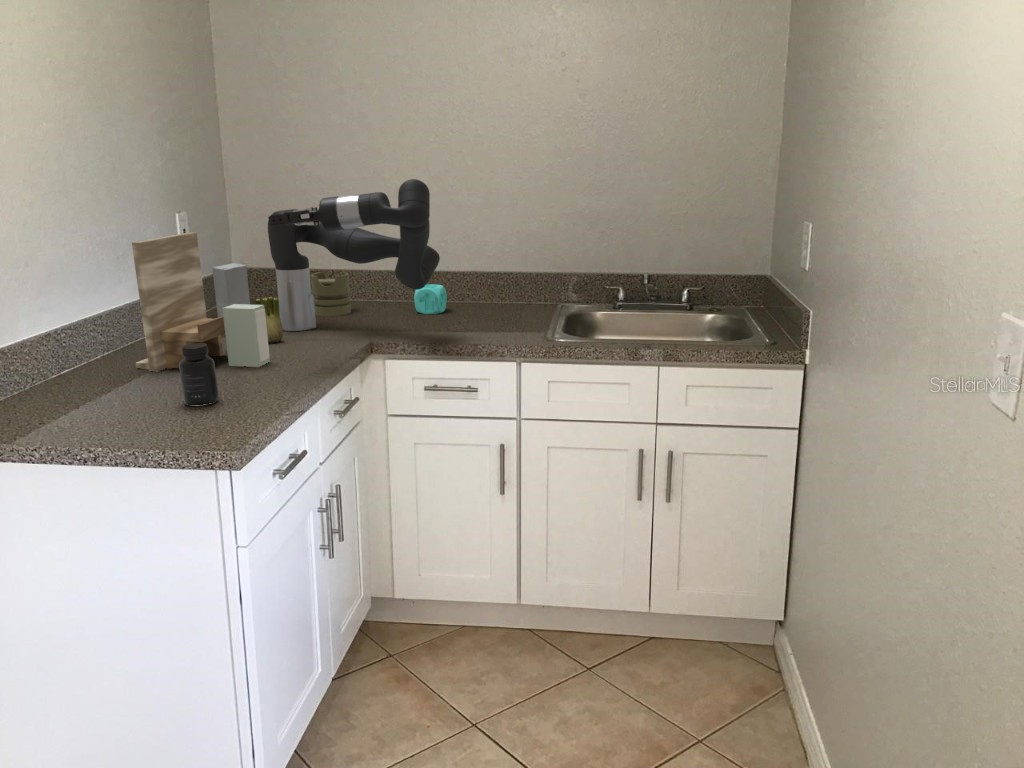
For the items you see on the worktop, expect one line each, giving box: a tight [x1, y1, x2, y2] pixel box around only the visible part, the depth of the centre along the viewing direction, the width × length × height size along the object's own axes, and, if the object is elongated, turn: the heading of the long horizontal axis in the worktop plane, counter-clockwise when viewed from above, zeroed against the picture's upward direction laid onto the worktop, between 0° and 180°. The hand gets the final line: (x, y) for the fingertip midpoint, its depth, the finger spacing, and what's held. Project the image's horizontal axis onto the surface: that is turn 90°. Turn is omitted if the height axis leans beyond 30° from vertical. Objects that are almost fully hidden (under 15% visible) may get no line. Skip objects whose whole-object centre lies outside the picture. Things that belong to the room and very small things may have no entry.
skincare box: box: [211, 262, 251, 318], centre depth 259 cm, size 8×7×16 cm
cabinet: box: [223, 304, 271, 368], centre depth 202 cm, size 8×5×14 cm, turn 76°
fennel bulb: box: [255, 296, 284, 344], centre depth 225 cm, size 6×5×12 cm
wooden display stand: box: [131, 231, 225, 373], centre depth 203 cm, size 18×22×30 cm
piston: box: [310, 271, 352, 317], centre depth 263 cm, size 11×12×11 cm
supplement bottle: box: [178, 343, 220, 405], centre depth 172 cm, size 7×7×12 cm
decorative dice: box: [413, 283, 448, 315], centre depth 262 cm, size 8×8×8 cm
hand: (277, 220), depth 195 cm, fingers open, 8 cm apart
